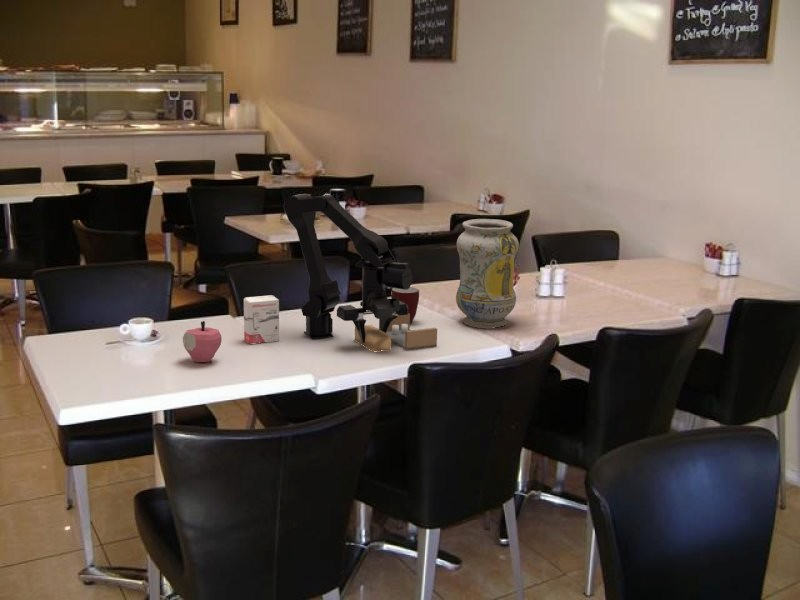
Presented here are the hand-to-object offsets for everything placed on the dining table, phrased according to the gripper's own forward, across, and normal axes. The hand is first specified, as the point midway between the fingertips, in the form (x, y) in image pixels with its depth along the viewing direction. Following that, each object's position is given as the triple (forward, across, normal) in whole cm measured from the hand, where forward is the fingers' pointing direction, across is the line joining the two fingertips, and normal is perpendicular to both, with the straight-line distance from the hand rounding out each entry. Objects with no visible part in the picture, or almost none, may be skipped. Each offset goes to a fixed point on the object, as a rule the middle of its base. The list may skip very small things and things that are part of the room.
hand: (372, 341), depth 241 cm
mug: (+1, +17, +17) cm, 24 cm away
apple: (+1, -45, +3) cm, 45 cm away
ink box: (+1, -26, +15) cm, 30 cm away
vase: (+1, +40, +8) cm, 41 cm away
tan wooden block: (+1, 0, 0) cm, 1 cm away
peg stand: (+1, +11, +1) cm, 11 cm away
